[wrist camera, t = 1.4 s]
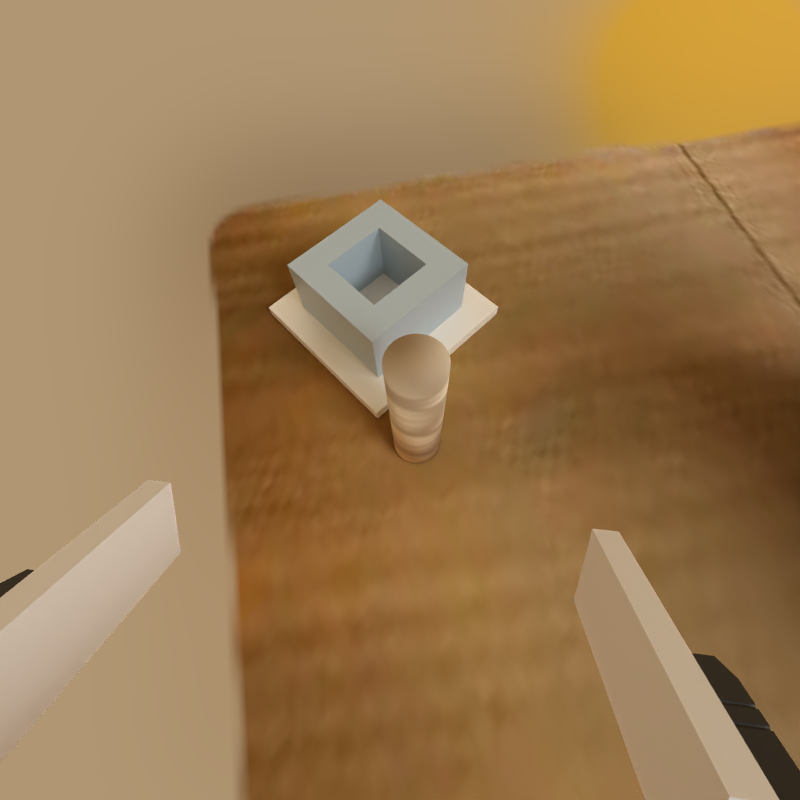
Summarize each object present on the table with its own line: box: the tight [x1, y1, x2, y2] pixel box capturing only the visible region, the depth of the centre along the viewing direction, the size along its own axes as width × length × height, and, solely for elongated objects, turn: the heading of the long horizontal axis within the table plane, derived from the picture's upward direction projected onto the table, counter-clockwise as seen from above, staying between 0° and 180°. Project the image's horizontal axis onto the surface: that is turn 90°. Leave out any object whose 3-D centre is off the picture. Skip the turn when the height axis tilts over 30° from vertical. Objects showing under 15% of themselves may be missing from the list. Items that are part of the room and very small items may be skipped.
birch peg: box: [382, 334, 451, 464], centre depth 31 cm, size 4×4×14 cm
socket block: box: [269, 200, 498, 418], centre depth 40 cm, size 16×16×7 cm
